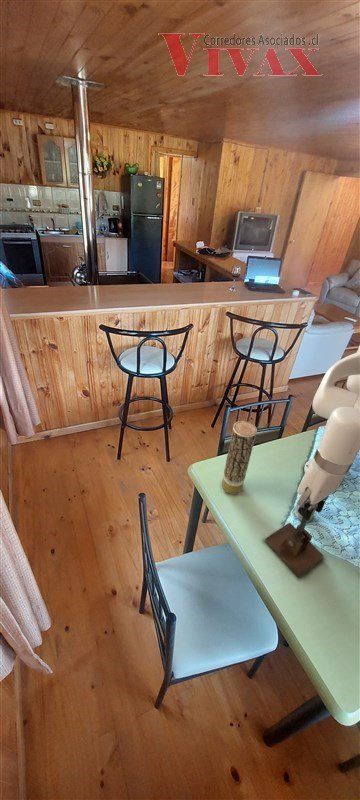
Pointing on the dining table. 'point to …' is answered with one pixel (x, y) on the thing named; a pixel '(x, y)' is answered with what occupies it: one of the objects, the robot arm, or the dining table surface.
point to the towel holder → (294, 549)
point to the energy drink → (299, 513)
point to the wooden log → (238, 456)
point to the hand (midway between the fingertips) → (309, 511)
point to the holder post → (303, 526)
